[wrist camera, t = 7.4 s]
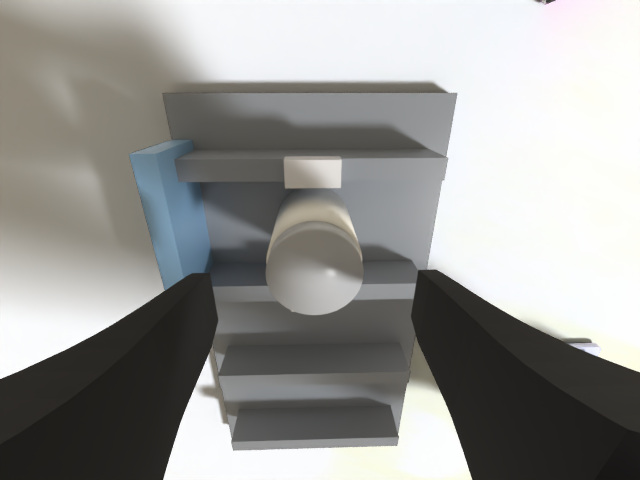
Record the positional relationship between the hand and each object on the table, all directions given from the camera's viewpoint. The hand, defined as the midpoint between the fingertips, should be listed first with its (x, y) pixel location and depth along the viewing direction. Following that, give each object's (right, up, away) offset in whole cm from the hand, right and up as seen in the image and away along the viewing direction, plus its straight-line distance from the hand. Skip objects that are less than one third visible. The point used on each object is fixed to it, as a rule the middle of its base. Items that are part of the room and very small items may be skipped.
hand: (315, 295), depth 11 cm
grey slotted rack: (0, -2, +10) cm, 11 cm away
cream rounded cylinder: (0, +3, +7) cm, 7 cm away
